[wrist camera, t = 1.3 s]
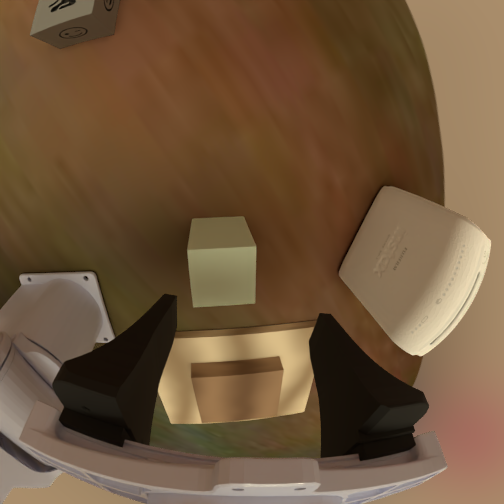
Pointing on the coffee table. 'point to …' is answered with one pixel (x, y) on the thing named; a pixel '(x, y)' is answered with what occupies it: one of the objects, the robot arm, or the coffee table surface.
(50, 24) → the dice cube
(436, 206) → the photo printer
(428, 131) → the coffee table surface
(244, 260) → the sage block
